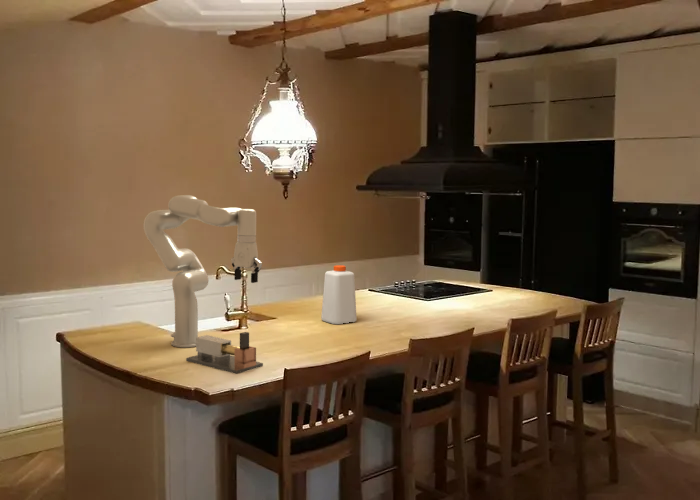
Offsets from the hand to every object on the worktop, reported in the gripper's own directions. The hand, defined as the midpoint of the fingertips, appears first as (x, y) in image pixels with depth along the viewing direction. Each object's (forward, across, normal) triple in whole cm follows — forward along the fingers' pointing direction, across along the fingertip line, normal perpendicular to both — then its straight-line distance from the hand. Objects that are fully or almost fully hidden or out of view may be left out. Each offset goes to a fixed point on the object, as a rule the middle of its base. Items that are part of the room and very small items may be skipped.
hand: (245, 281), depth 300 cm
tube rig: (+30, +7, -18) cm, 35 cm away
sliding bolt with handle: (+25, +11, -18) cm, 33 cm away
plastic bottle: (+30, -11, +75) cm, 81 cm away
